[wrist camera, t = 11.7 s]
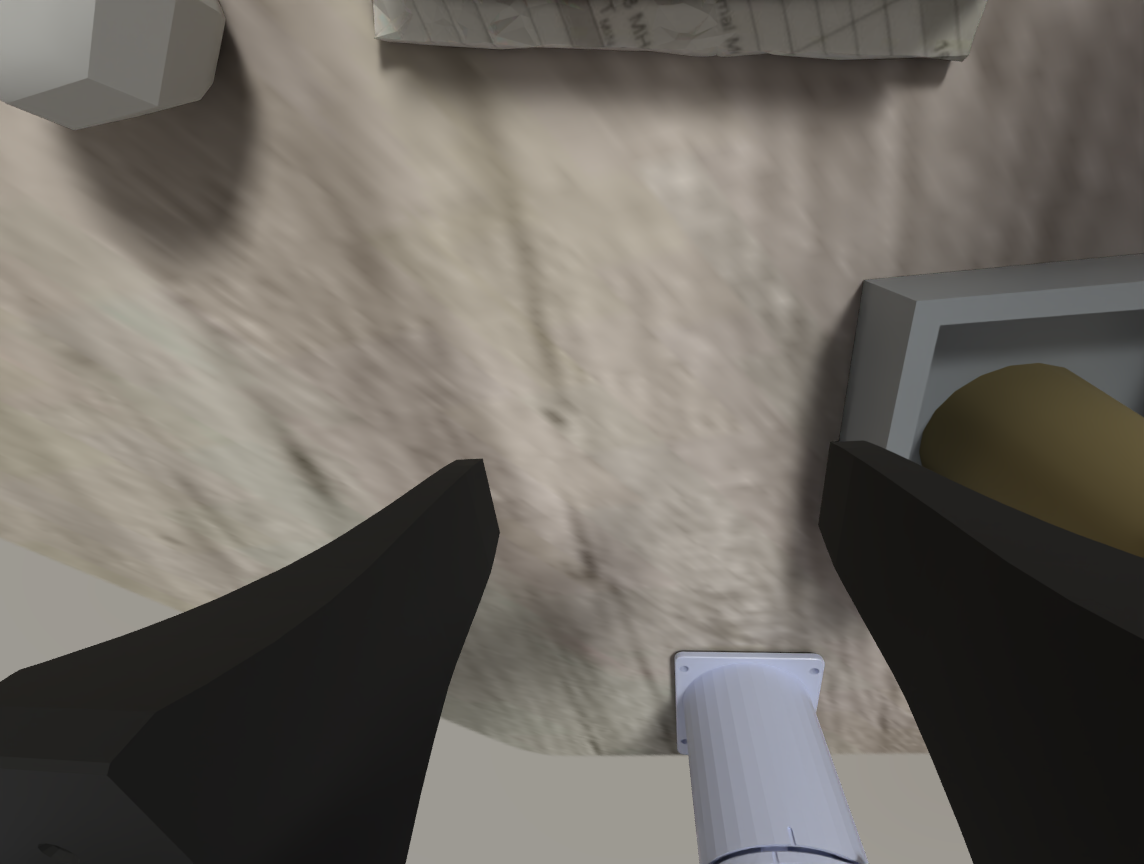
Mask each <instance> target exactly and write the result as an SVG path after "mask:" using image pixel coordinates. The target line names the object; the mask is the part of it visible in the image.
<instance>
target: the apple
mask: <svg viewBox="0 0 1144 864" xmlns="http://www.w3.org/2000/svg"><path fill="white" fill-rule="evenodd" d="M225 21H226V18H225V16H224V13H223V11H222V8H221V6H220V4H219V1H218V0H0V100H1V101H3V102H5V103H6V104H9V105H11V106H14V107H16V108H19V109H21V110H24V111H26V112H29V113H31V114H34V115H36V116H39V117H41V118H44V119H47V120H49V121H52V122H54V123H57V124H59V125H62V126H64V127H67V128H69V129H72V130H78V129H83V128H87V127H92V126H97V125H101V124H106V123H111V122H115V121H120V120H125V119H129V118H134V117H138V116H142V115H146V114H149V113H153V112H157V111H161V110H165V109H168V108H172V107H176V106H180V105H184V104H187V103H191V102H195V101H199V100H201V98H202V97H203V96H204V94H205V93H206V92H207V91H208V89H209V88H210V87H211V85H212V84H213V82H214V77H215V72H216V67H217V62H218V57H219V52H220V47H221V41H222V36H223V31H224V26H225Z"/></svg>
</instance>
